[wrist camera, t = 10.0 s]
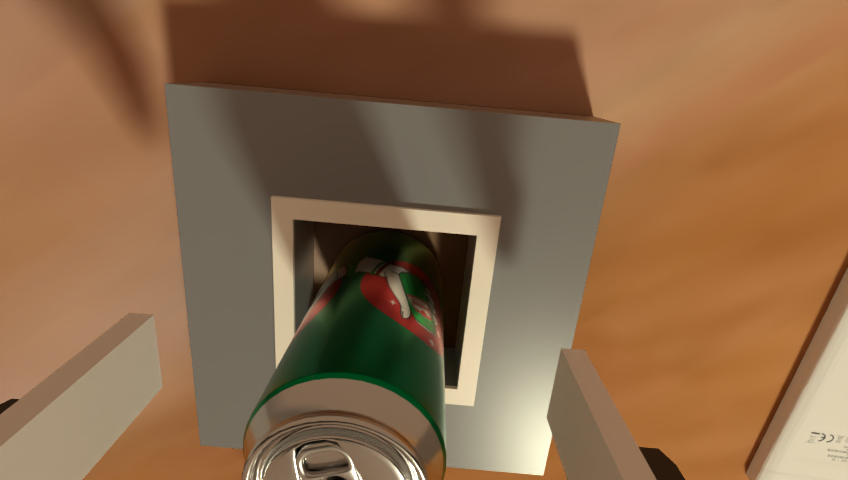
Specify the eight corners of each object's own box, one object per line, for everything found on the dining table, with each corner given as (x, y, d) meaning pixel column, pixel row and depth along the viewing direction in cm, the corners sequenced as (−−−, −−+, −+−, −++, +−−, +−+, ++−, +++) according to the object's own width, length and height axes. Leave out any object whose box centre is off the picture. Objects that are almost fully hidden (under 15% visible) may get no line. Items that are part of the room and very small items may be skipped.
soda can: (351, 334, 23) (268, 587, 12) (320, 239, 21) (187, 427, 10) (452, 313, 22) (468, 558, 11) (428, 215, 21) (417, 384, 9)
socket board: (227, 402, 24) (198, 448, 21) (204, 81, 19) (161, 83, 16) (531, 428, 24) (543, 478, 21) (593, 116, 19) (622, 124, 16)
